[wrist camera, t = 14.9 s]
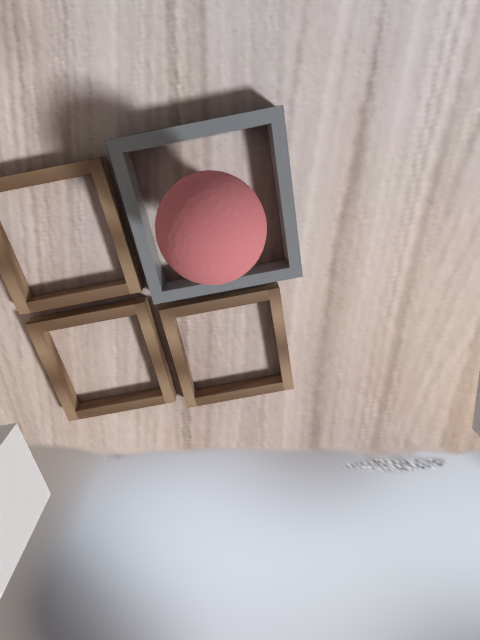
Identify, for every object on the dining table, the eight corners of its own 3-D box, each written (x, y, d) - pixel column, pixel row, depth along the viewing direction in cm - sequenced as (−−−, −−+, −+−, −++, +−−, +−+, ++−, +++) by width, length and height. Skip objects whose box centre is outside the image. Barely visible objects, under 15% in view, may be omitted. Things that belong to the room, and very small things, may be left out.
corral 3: (113, 140, 30) (104, 140, 27) (277, 107, 29) (283, 104, 27) (157, 294, 35) (153, 304, 33) (297, 268, 35) (302, 276, 33)
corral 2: (31, 318, 35) (24, 325, 34) (147, 296, 35) (144, 302, 34) (74, 411, 40) (69, 421, 39) (176, 393, 40) (175, 401, 38)
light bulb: (206, 266, 34) (201, 323, 23) (152, 201, 32) (119, 230, 21) (271, 217, 33) (298, 253, 22) (220, 144, 30) (222, 144, 19)
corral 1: (-30, 183, 30) (-42, 185, 29) (105, 157, 30) (99, 157, 29) (27, 308, 35) (19, 315, 34) (144, 286, 35) (141, 292, 33)
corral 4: (160, 304, 36) (158, 310, 34) (276, 282, 35) (279, 287, 34) (188, 399, 40) (187, 407, 39) (291, 380, 40) (293, 388, 39)
